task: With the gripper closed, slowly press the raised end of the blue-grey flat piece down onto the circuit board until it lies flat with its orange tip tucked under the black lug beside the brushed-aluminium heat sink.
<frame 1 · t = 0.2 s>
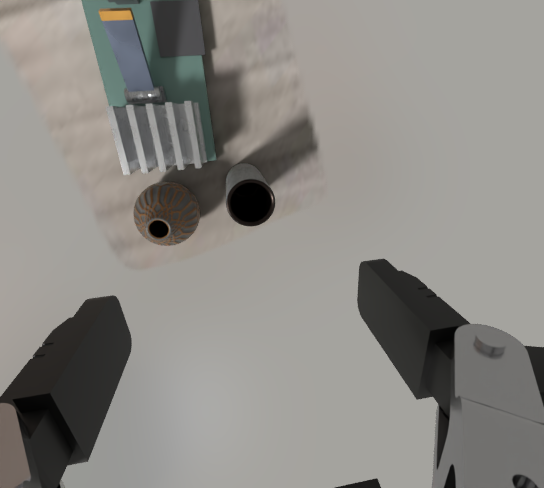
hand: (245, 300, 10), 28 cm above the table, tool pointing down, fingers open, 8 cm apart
planter: (244, 181, 37), on the table
lug: (130, 2, 28), resting on board
blue-grey flat piece: (131, 60, 26), point 5 cm above the table, hinge at 30.0°
vase: (173, 204, 36), on the table
board: (158, 85, 31), on the table
heatsink: (167, 135, 33), resting on board
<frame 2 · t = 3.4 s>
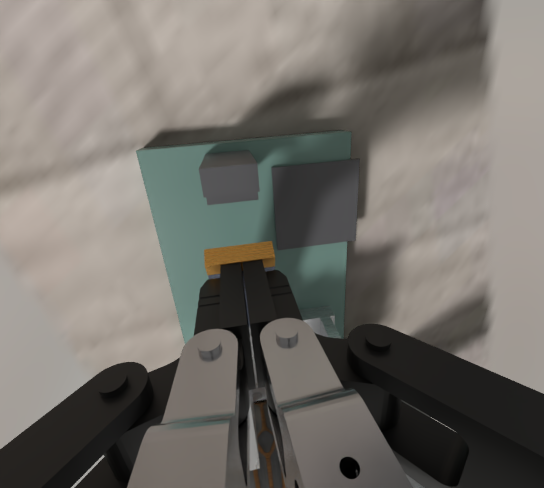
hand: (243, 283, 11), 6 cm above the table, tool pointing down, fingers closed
lug: (228, 159, 15), resting on board
blue-grey flat piece: (245, 298, 13), point 5 cm above the table, hinge at 29.9°, touching gripper
vase: (261, 416, 24), on the table
board: (260, 276, 18), on the table
heatsink: (266, 339, 20), resting on board
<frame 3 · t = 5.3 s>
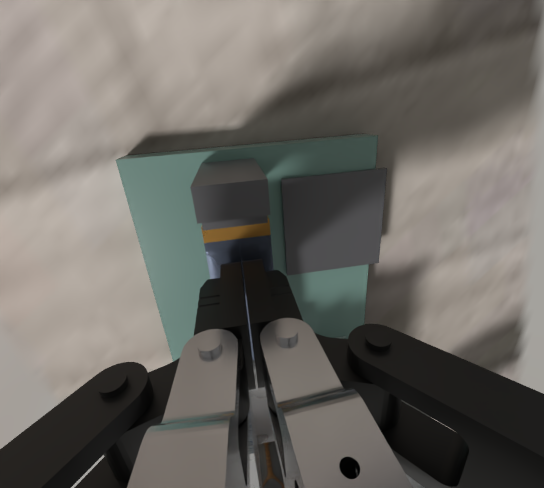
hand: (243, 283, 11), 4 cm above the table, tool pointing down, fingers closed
lug: (229, 168, 13), resting on board
blue-grey flat piece: (246, 305, 12), point 3 cm above the table, hinge at -2.7°
vase: (266, 452, 21), on the table
board: (265, 302, 16), on the table
heatsink: (272, 371, 18), resting on board
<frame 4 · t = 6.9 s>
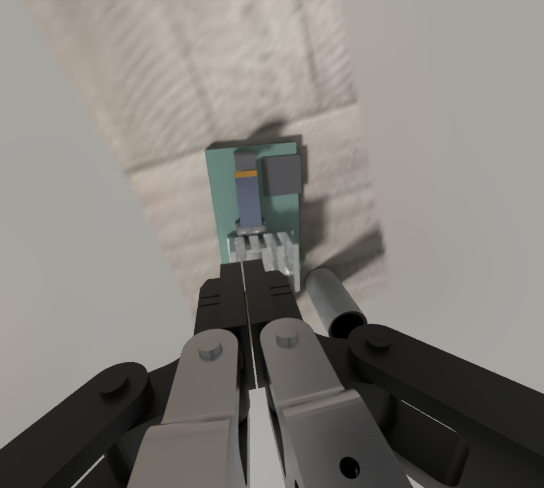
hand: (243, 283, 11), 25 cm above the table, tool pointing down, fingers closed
planter: (319, 280, 42), on the table
lug: (242, 154, 33), resting on board
blue-grey flat piece: (248, 204, 33), point 3 cm above the table, hinge at -3.0°
board: (256, 213, 36), on the table
heatsink: (260, 250, 38), resting on board
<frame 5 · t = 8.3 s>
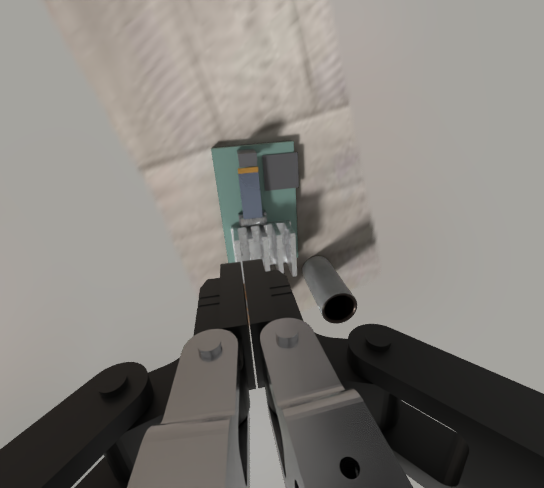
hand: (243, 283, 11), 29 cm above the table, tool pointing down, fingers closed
planter: (315, 268, 45), on the table
lug: (244, 152, 37), resting on board
blue-grey flat piece: (250, 197, 36), point 3 cm above the table, hinge at -3.0°
board: (258, 206, 40), on the table
heatsink: (261, 239, 42), resting on board
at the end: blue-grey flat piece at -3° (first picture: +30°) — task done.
